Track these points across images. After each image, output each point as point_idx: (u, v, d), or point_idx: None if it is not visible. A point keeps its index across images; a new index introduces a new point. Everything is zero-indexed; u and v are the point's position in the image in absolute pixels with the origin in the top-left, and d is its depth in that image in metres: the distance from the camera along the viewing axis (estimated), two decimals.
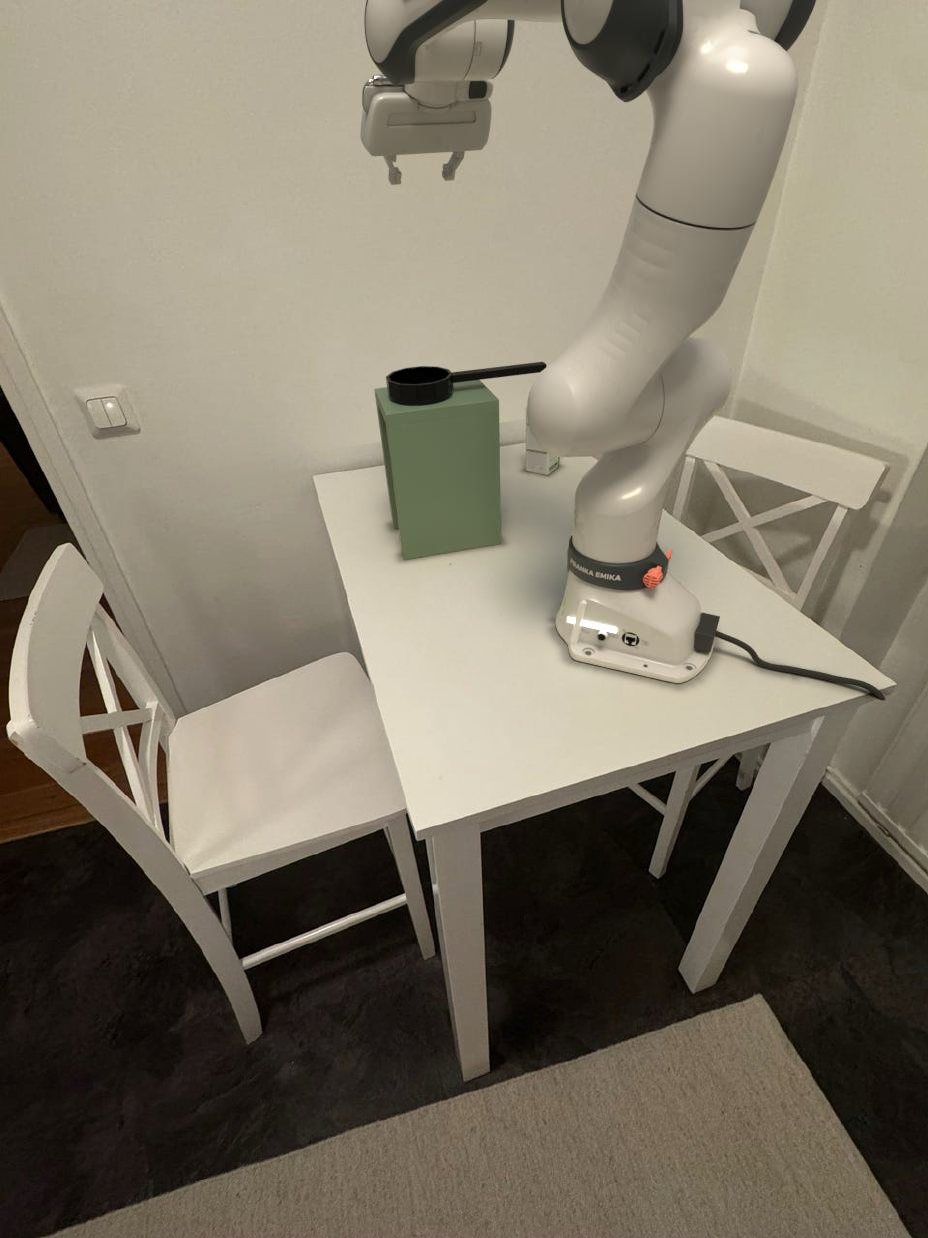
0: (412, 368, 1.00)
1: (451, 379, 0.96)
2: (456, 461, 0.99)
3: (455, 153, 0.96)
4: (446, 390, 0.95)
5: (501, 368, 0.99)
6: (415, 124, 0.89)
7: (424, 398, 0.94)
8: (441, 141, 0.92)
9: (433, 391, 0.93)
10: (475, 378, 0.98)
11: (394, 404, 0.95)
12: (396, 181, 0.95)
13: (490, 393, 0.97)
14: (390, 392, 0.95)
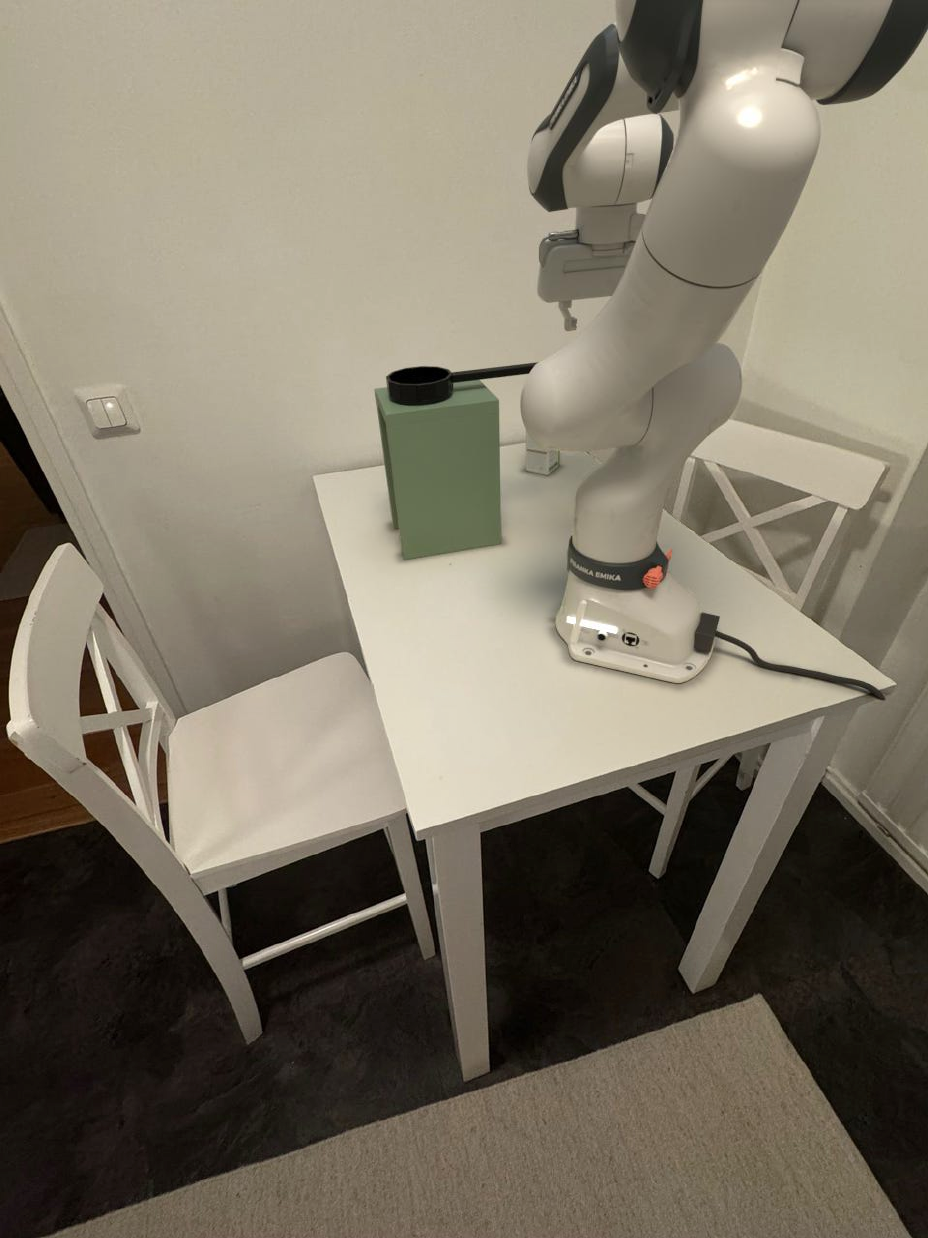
0: (412, 368, 1.00)
1: (451, 379, 0.96)
2: (456, 461, 0.99)
3: None
4: (446, 390, 0.95)
5: (501, 368, 0.99)
6: (589, 270, 0.92)
7: (424, 398, 0.94)
8: (615, 284, 0.94)
9: (433, 391, 0.93)
10: (475, 378, 0.98)
11: (394, 404, 0.95)
12: (572, 326, 0.97)
13: (490, 393, 0.97)
14: (390, 392, 0.95)
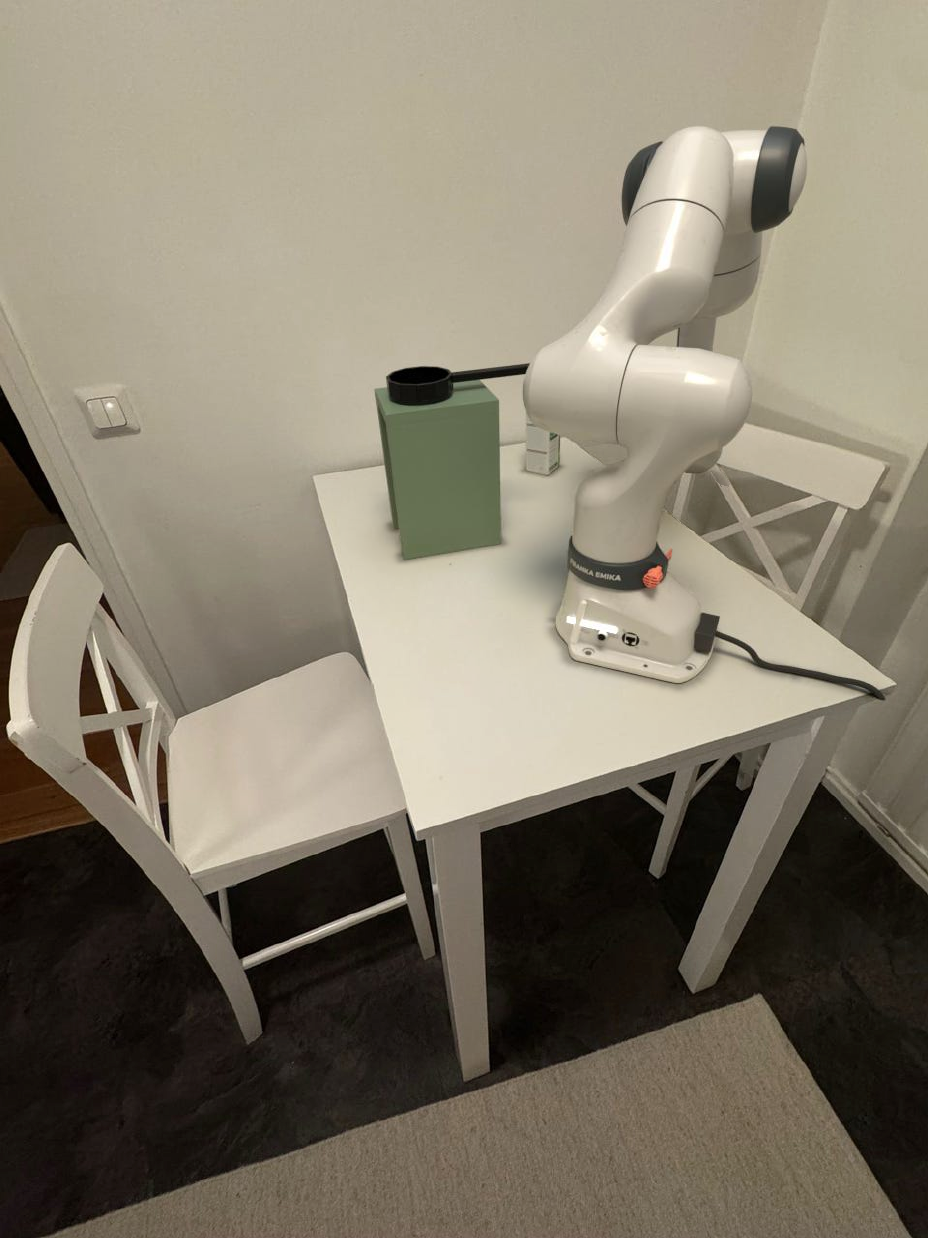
0: (412, 368, 1.00)
1: (451, 379, 0.96)
2: (456, 461, 0.99)
3: None
4: (446, 390, 0.95)
5: (501, 368, 0.99)
6: None
7: (424, 398, 0.94)
8: None
9: (433, 391, 0.93)
10: (475, 378, 0.98)
11: (394, 404, 0.95)
12: None
13: (490, 393, 0.97)
14: (390, 392, 0.95)
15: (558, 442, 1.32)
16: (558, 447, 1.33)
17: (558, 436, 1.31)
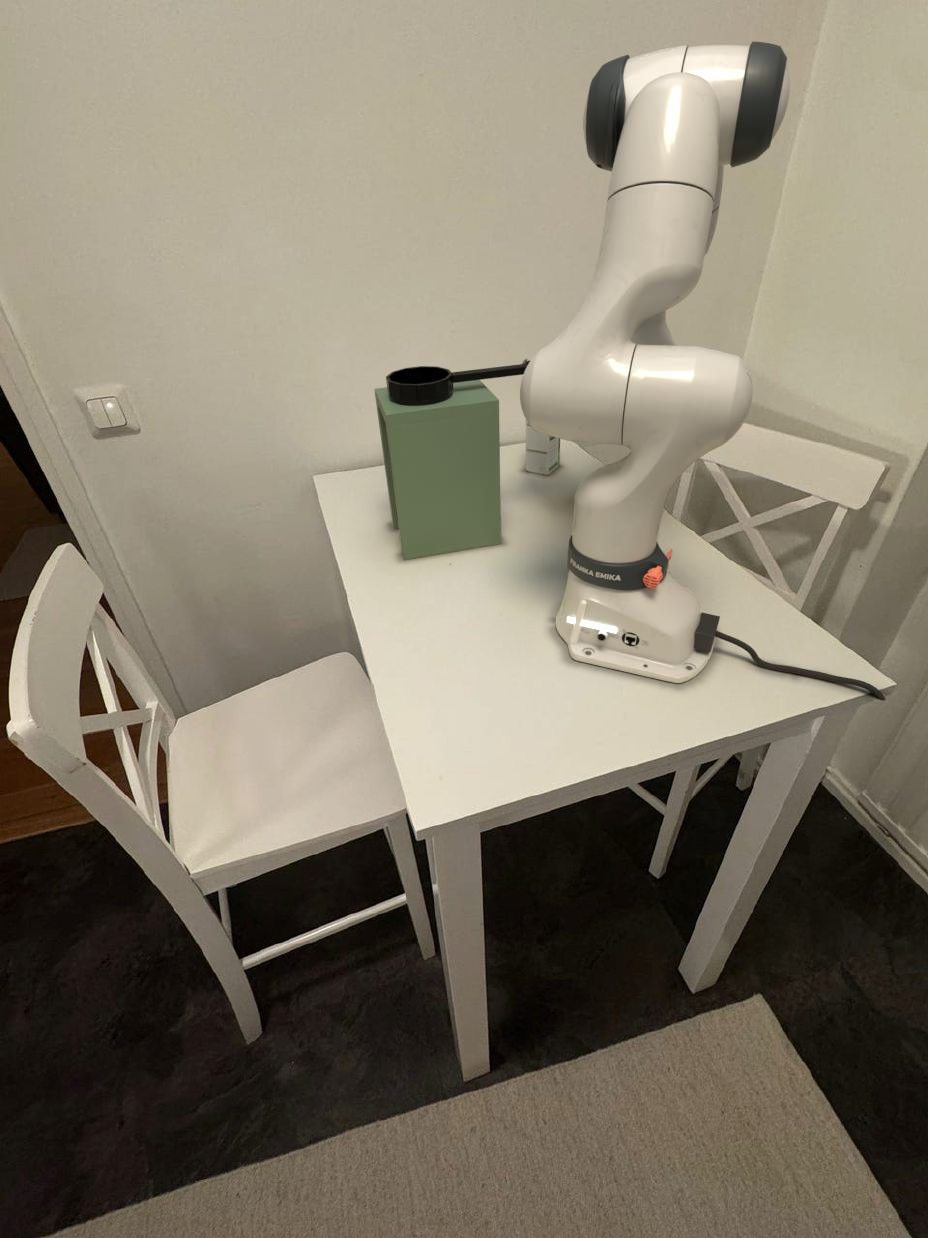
0: (412, 368, 1.00)
1: (451, 379, 0.96)
2: (456, 461, 0.99)
3: None
4: (446, 390, 0.95)
5: (501, 368, 0.99)
6: None
7: (424, 398, 0.94)
8: None
9: (433, 391, 0.93)
10: (475, 378, 0.98)
11: (394, 404, 0.95)
12: (528, 359, 1.01)
13: (490, 393, 0.97)
14: (390, 392, 0.95)
15: (558, 442, 1.32)
16: (558, 447, 1.33)
17: None
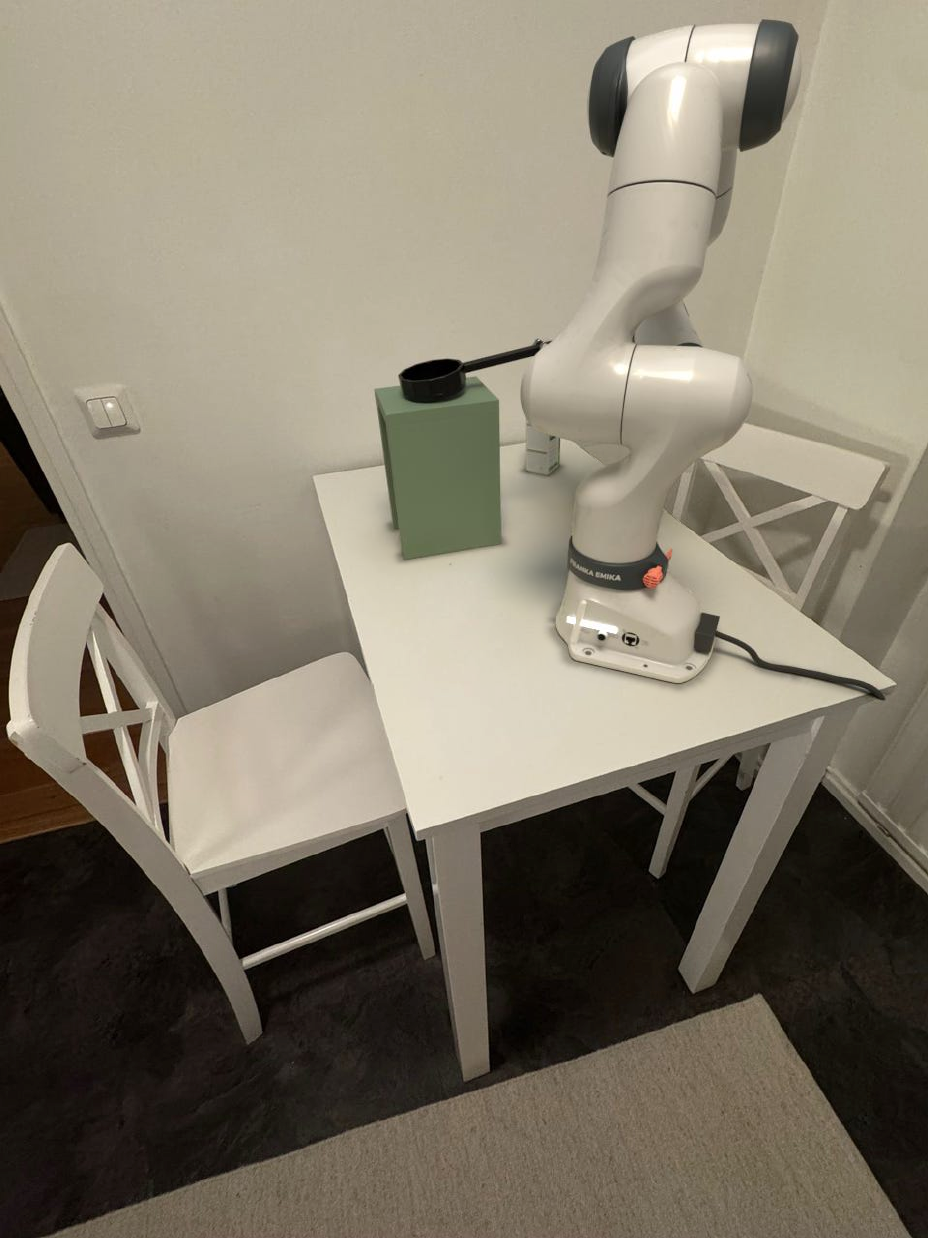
0: (423, 363, 1.00)
1: (463, 370, 0.96)
2: (456, 461, 0.99)
3: None
4: (459, 381, 0.95)
5: (512, 352, 0.98)
6: None
7: (438, 392, 0.94)
8: None
9: (446, 384, 0.93)
10: (487, 365, 0.97)
11: (394, 404, 0.95)
12: None
13: (490, 393, 0.97)
14: (404, 390, 0.96)
15: (558, 442, 1.32)
16: (558, 447, 1.33)
17: None
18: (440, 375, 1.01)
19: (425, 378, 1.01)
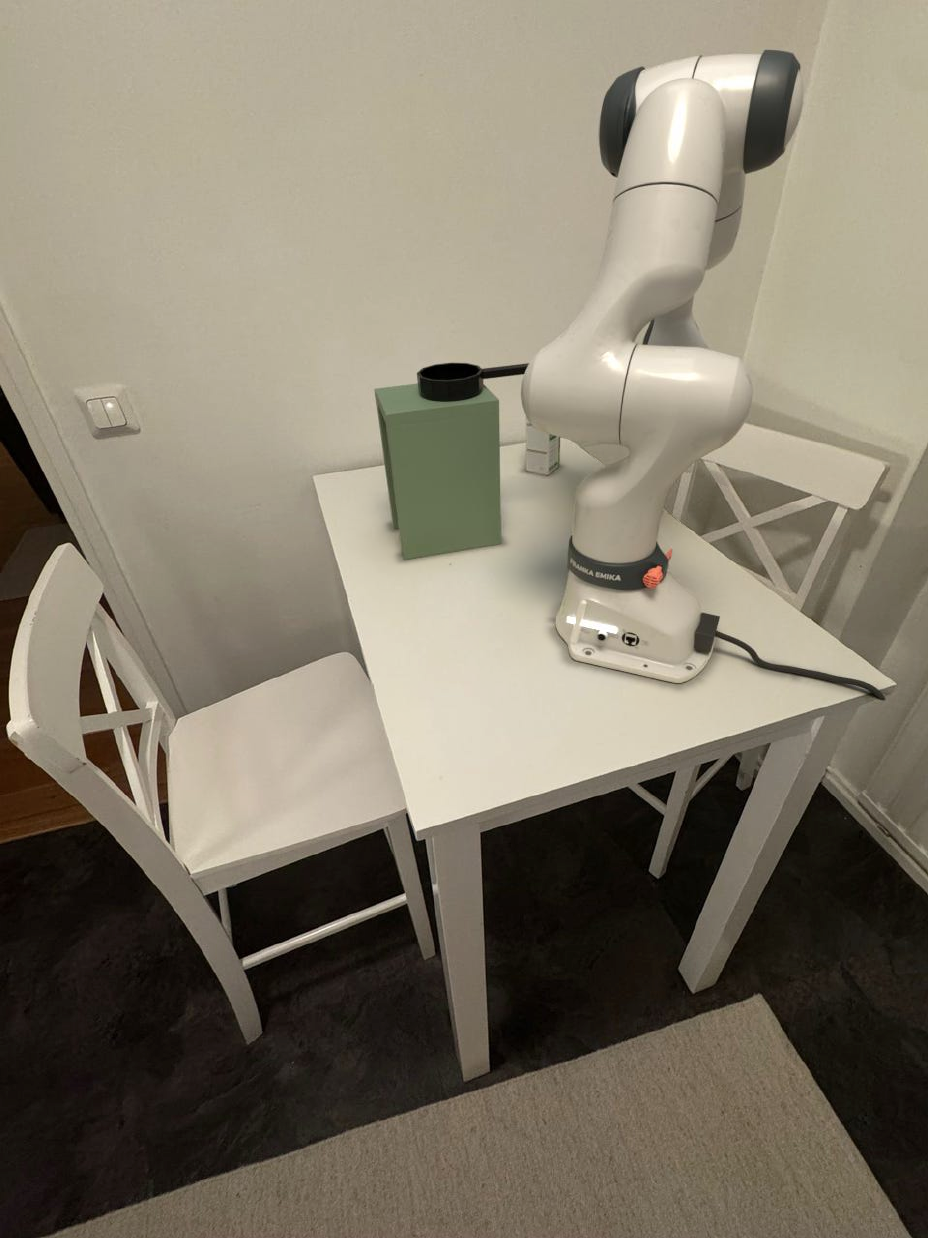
0: (442, 364, 1.01)
1: (482, 375, 0.97)
2: (456, 461, 0.99)
3: None
4: (477, 386, 0.96)
5: None
6: None
7: (456, 394, 0.94)
8: None
9: (465, 387, 0.94)
10: (505, 374, 0.99)
11: (394, 404, 0.95)
12: None
13: (490, 393, 0.97)
14: (421, 388, 0.96)
15: (558, 442, 1.32)
16: (558, 447, 1.33)
17: None
18: (457, 378, 1.02)
19: (441, 379, 1.02)
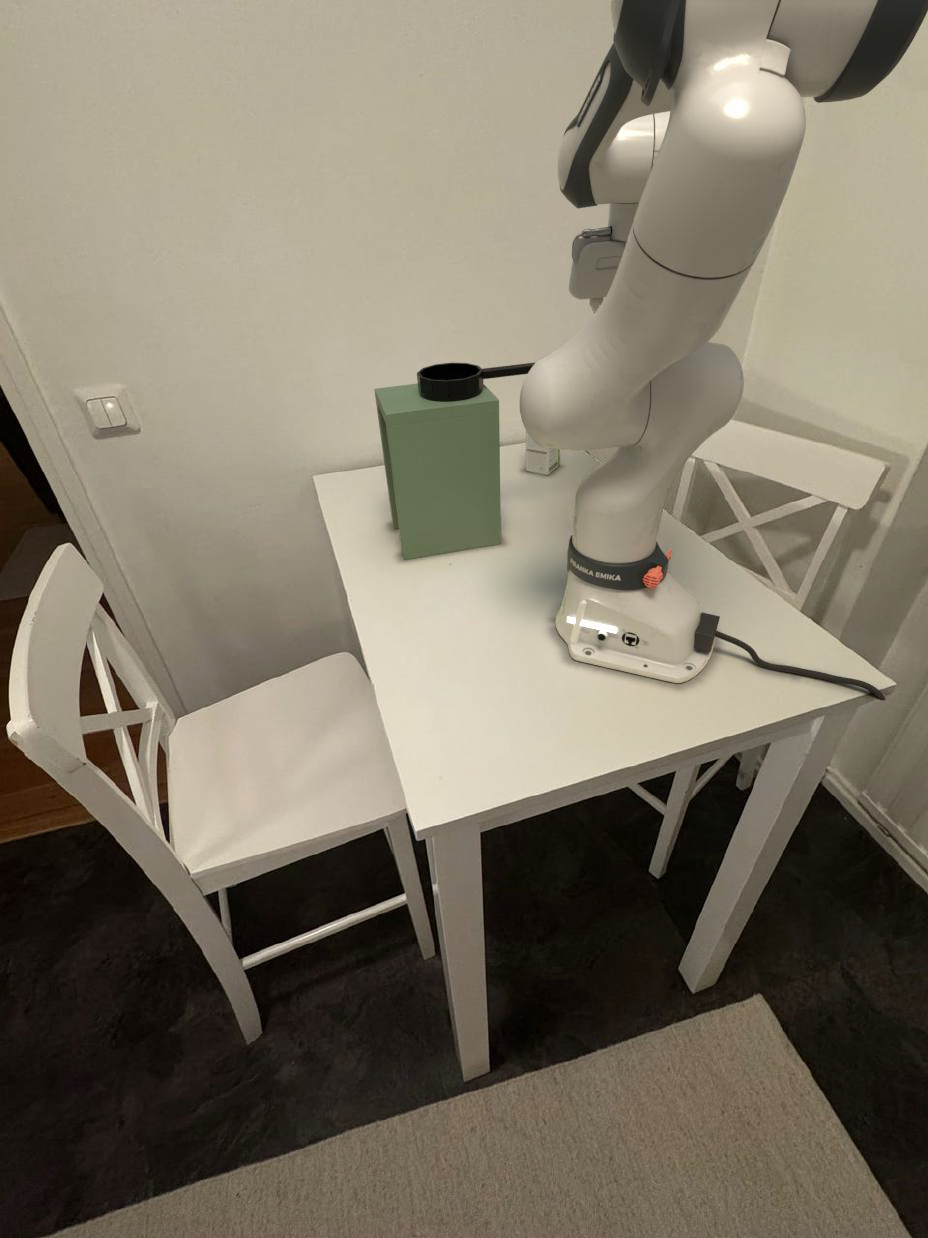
0: (442, 364, 1.01)
1: (482, 375, 0.97)
2: (456, 461, 0.99)
3: None
4: (477, 386, 0.96)
5: (530, 364, 0.99)
6: None
7: (456, 394, 0.94)
8: None
9: (465, 387, 0.94)
10: (505, 374, 0.99)
11: (394, 404, 0.95)
12: None
13: (490, 393, 0.97)
14: (421, 388, 0.96)
15: None
16: None
17: None
18: (457, 378, 1.02)
19: (441, 379, 1.02)
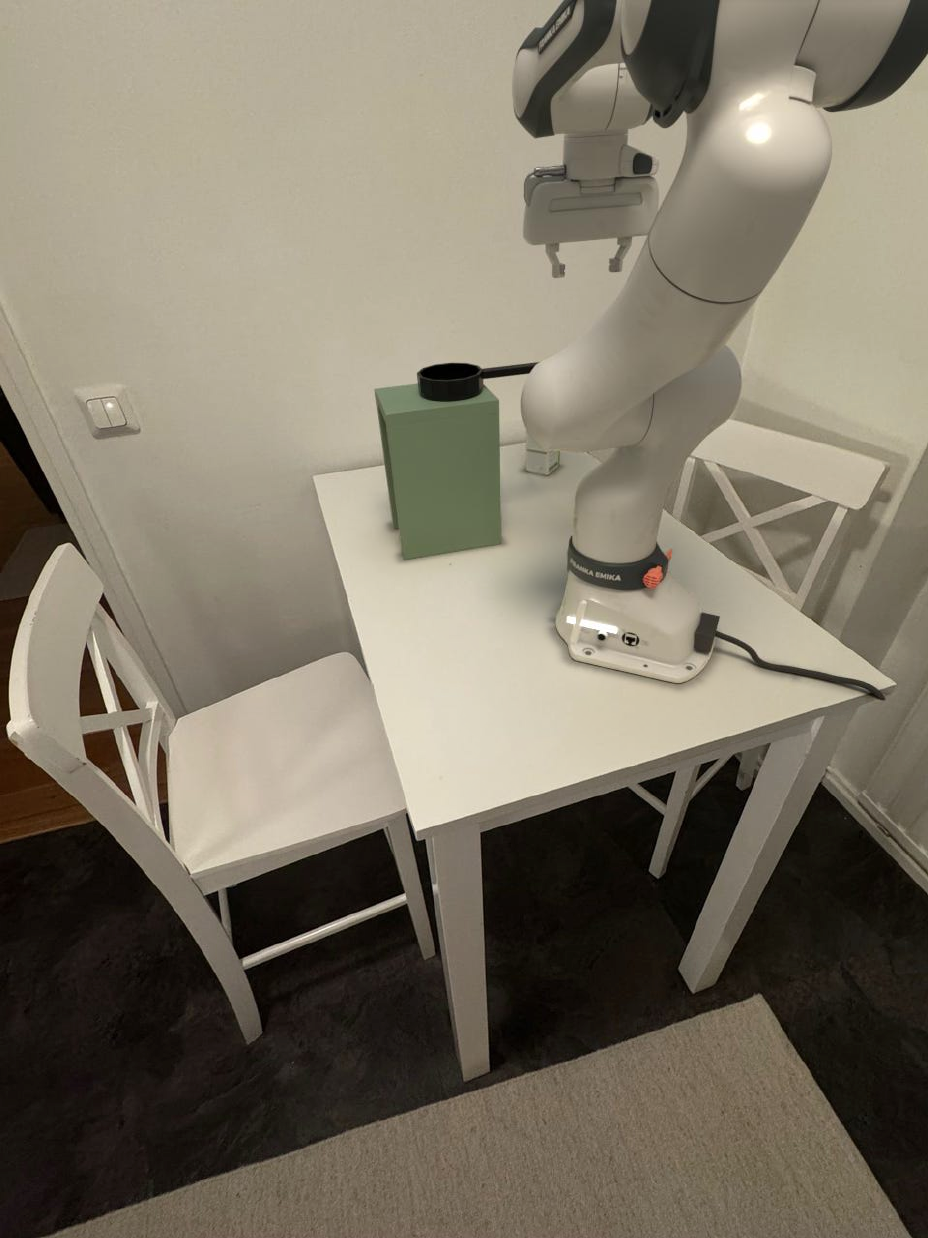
0: (442, 364, 1.01)
1: (482, 375, 0.97)
2: (456, 461, 0.99)
3: (622, 242, 0.92)
4: (477, 386, 0.96)
5: (530, 364, 0.99)
6: (578, 209, 0.87)
7: (456, 394, 0.94)
8: (606, 225, 0.89)
9: (465, 387, 0.94)
10: (505, 374, 0.99)
11: (394, 404, 0.95)
12: (559, 273, 0.92)
13: (490, 393, 0.97)
14: (421, 388, 0.96)
15: None
16: None
17: None
18: (457, 378, 1.02)
19: (441, 379, 1.02)
